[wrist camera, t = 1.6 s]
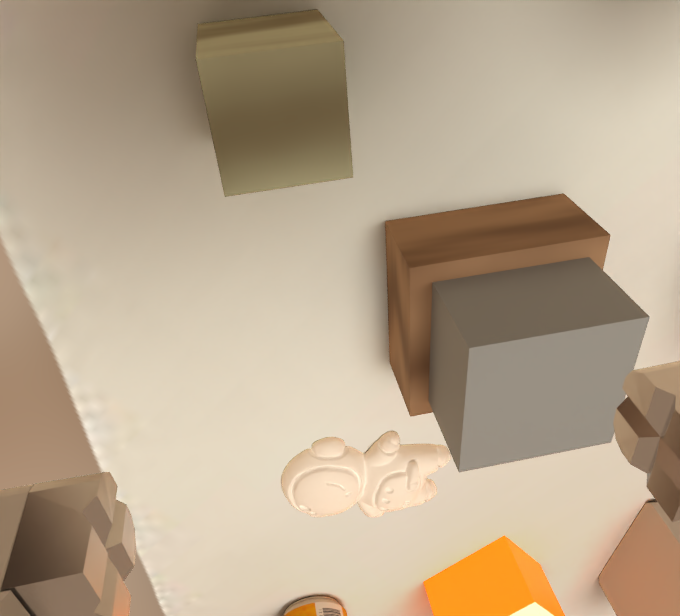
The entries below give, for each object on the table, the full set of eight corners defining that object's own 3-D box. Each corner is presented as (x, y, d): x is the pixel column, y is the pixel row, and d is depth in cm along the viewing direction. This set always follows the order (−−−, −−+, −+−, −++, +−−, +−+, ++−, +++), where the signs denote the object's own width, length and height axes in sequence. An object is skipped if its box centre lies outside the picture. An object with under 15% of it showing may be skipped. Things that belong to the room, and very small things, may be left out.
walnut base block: (383, 218, 32) (409, 268, 28) (561, 191, 33) (610, 235, 29) (388, 359, 38) (410, 416, 34) (538, 332, 39) (576, 384, 35)
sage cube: (197, 23, 25) (195, 59, 20) (317, 9, 25) (343, 40, 20) (221, 141, 28) (224, 196, 23) (327, 125, 28) (353, 177, 23)
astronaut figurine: (420, 505, 48) (431, 538, 45) (272, 505, 44) (276, 542, 42) (457, 428, 43) (472, 461, 41) (294, 422, 40) (299, 458, 37)
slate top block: (432, 282, 28) (469, 348, 25) (589, 256, 29) (649, 316, 25) (428, 400, 33) (459, 472, 29) (563, 376, 34) (611, 442, 30)
